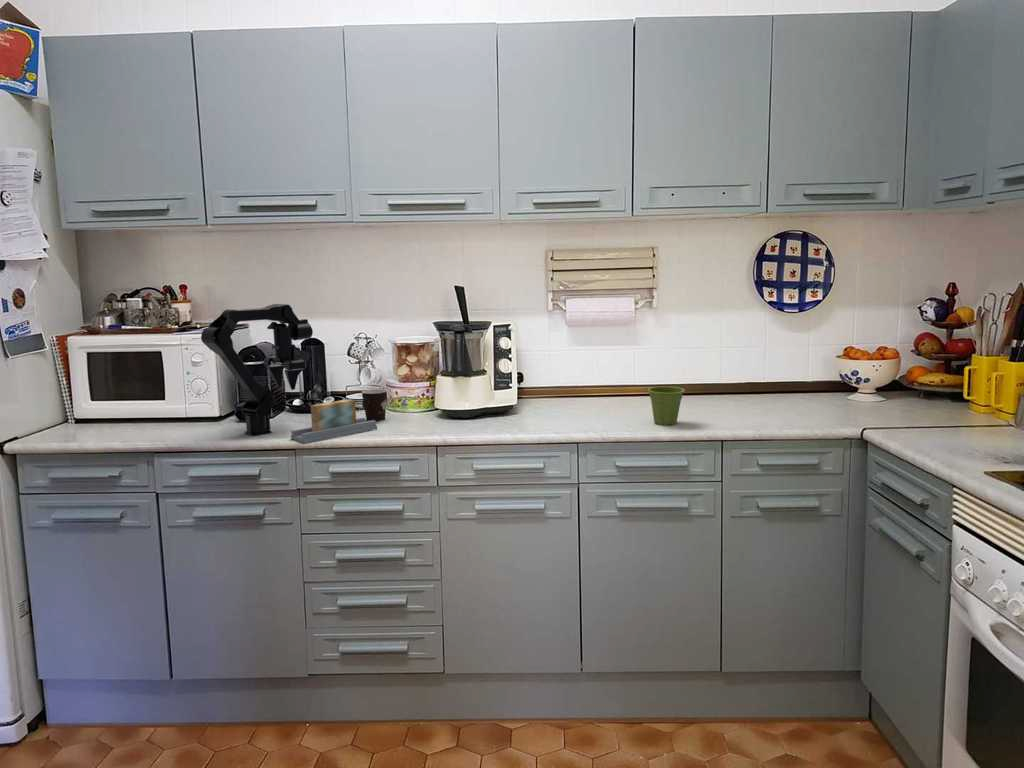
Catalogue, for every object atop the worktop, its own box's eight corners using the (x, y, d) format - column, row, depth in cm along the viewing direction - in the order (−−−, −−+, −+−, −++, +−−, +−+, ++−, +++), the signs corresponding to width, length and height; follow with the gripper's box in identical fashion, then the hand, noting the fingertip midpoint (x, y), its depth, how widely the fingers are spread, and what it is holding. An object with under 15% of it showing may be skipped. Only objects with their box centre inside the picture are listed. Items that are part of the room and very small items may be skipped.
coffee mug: (379, 416, 275) (377, 388, 273) (393, 419, 269) (391, 391, 267) (350, 421, 267) (349, 392, 265) (365, 424, 261) (363, 395, 259)
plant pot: (650, 427, 247) (650, 392, 245) (645, 419, 259) (645, 386, 257) (687, 427, 246) (688, 392, 245) (680, 419, 258) (681, 386, 256)
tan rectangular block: (318, 435, 242) (316, 406, 240) (312, 433, 244) (310, 405, 243) (356, 427, 251) (355, 400, 250) (350, 426, 254) (349, 399, 252)
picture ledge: (305, 443, 236) (304, 434, 235) (291, 439, 242) (290, 430, 242) (377, 429, 253) (376, 420, 253) (362, 425, 260) (361, 417, 259)
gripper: (319, 341, 256) (322, 387, 258) (291, 338, 269) (294, 382, 272) (288, 344, 248) (291, 392, 251) (261, 341, 262) (264, 386, 264)
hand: (286, 388), depth 259 cm, fingers open, 9 cm apart
